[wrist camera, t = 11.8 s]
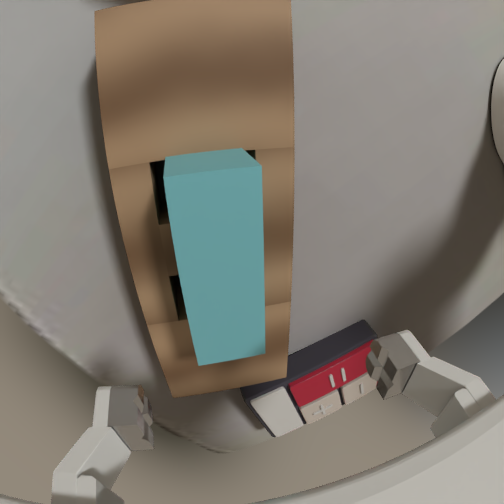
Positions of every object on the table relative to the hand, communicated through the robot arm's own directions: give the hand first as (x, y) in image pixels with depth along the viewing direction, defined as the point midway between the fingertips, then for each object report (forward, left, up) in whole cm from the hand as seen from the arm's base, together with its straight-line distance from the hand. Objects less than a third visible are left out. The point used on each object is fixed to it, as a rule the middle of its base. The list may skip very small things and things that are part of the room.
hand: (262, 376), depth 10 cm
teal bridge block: (0, 0, -14) cm, 14 cm away
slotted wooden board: (0, 0, -14) cm, 14 cm away
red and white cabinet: (-9, +21, -15) cm, 28 cm away
